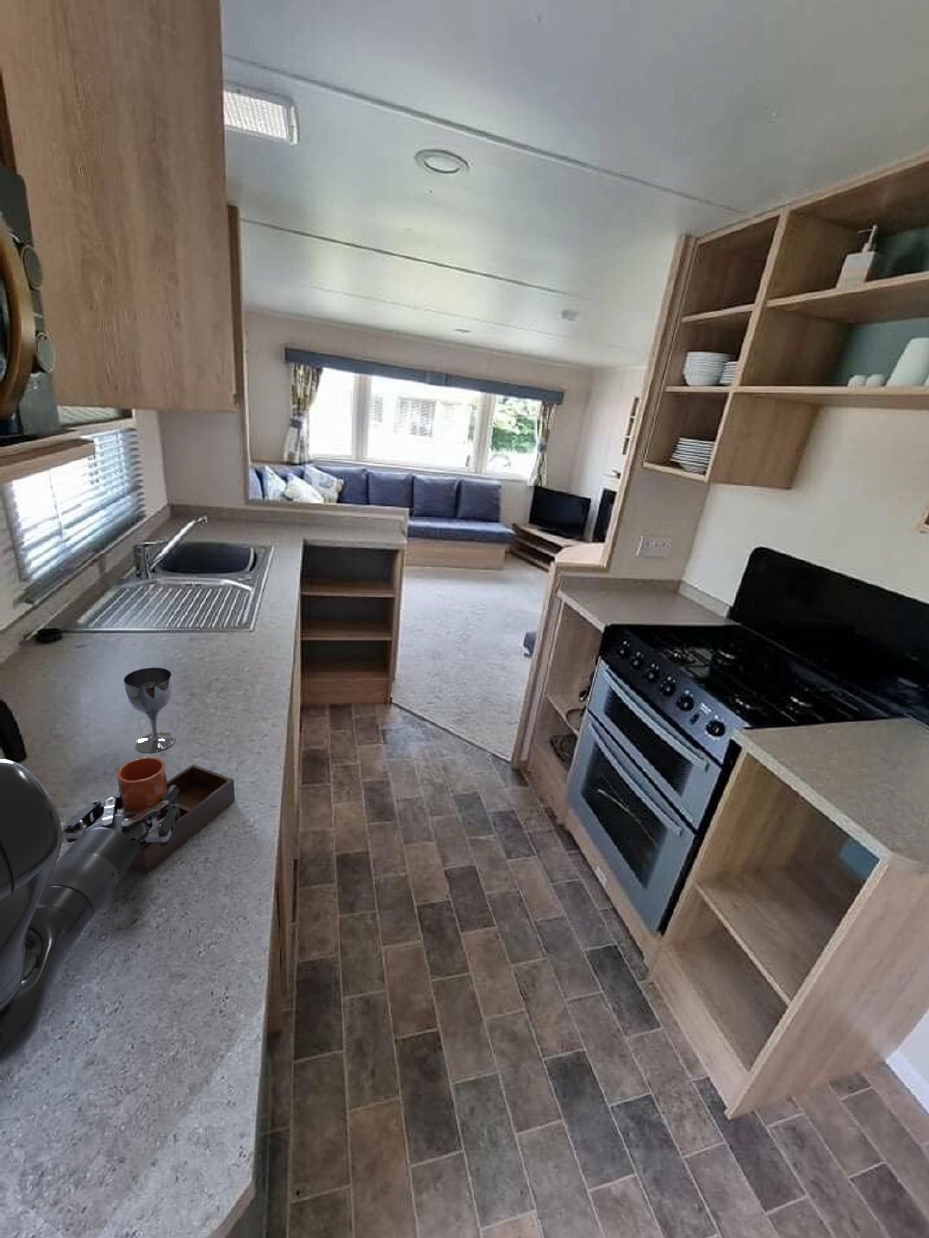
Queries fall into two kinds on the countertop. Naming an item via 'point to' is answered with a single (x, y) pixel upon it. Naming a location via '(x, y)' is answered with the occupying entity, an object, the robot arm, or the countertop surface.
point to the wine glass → (150, 702)
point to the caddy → (189, 811)
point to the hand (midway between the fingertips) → (153, 788)
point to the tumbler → (142, 784)
